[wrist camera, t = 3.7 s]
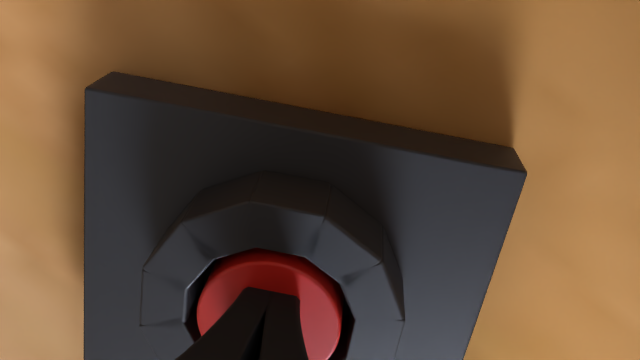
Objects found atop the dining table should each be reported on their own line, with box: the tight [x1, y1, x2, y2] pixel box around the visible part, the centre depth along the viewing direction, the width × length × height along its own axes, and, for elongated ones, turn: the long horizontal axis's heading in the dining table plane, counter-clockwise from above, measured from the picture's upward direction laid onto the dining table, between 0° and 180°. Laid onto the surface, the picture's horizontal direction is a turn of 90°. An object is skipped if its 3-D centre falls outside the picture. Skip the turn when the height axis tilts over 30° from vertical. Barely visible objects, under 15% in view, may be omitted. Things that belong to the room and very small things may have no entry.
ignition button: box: [197, 248, 344, 360], centre depth 16 cm, size 4×4×2 cm
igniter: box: [84, 72, 527, 360], centre depth 16 cm, size 11×9×4 cm
